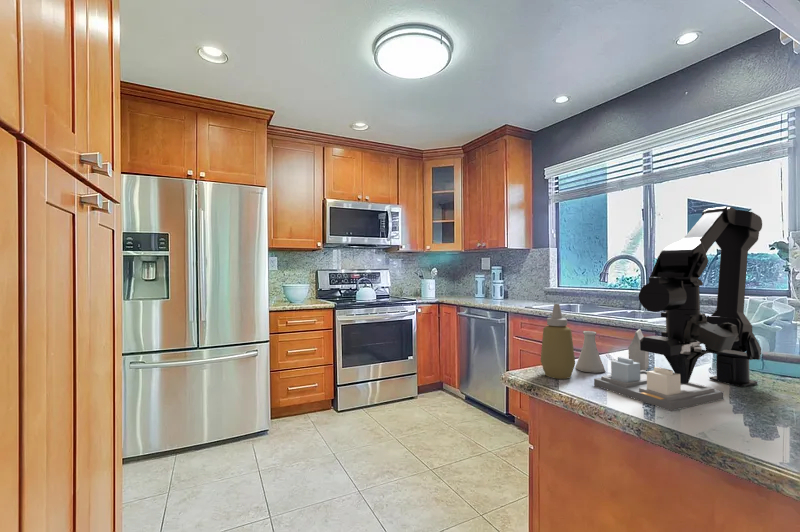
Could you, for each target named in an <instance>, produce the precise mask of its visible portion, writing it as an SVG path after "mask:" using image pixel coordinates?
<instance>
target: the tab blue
mask: <svg viewBox="0 0 800 532" xmlns="http://www.w3.org/2000/svg"><path fill="white" fill-rule="evenodd" d="M610 371H611V373H610V375H611V378H612V379H615V380H618V381H622V382H625V383H627V382H633V381H638V380H641V379H640V363H637V362H633V360H631V359H629V358H627V357H622V356H617V359H616V360H611V361H610Z"/></svg>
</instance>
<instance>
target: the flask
mask: <svg viewBox="0 0 800 532" xmlns="http://www.w3.org/2000/svg"><path fill="white" fill-rule="evenodd" d="M582 334H583V335H584V337H583V338H584V339H583V343H582V348H581V352H580V353H579V357H578V359H577V362H576V363H575V370H578V371H581V372H583V373H593V374H594V373H595V374H598V373H606V368H605V366H604V364H603V362H602V359H601V356H600V353H599V351H598V348H597V342H596V336H597V332H596V331H592V330H591V331H590V330H587V331H586V330H584V331H583V332H582Z"/></svg>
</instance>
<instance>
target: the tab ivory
mask: <svg viewBox="0 0 800 532" xmlns="http://www.w3.org/2000/svg"><path fill="white" fill-rule="evenodd" d="M647 389H648V390H652V391H655V392H658V393H662V394H665V395H668V396H669V395H674V394H679V393H681V383H680V374H677V373H674V371H673V369H672V370H671V369H667V368H663V367H659V366H654V367H653V370H647Z"/></svg>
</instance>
